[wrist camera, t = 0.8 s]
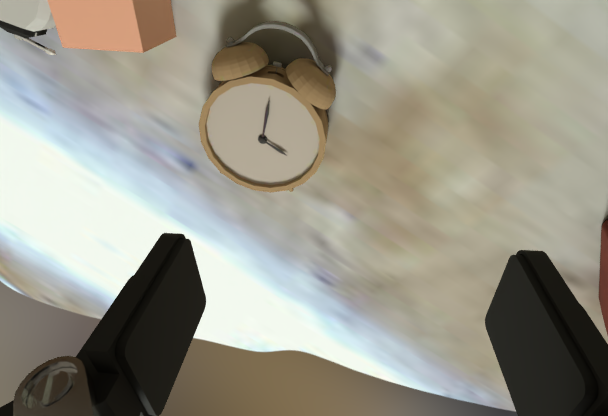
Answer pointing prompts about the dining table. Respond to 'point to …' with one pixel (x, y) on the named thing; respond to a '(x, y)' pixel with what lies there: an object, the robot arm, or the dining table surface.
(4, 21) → the robot toy
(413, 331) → the dining table surface
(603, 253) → the plant pot
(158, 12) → the terracotta cube
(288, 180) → the alarm clock
